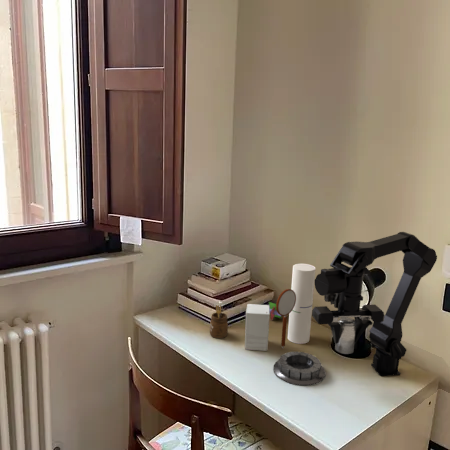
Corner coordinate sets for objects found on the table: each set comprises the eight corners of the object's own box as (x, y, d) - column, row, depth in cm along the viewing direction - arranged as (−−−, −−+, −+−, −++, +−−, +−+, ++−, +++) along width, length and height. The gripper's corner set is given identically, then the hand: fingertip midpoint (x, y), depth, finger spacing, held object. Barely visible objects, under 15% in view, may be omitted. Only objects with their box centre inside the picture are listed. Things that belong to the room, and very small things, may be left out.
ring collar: (315, 357, 159) (316, 348, 158) (332, 384, 144) (333, 374, 144) (267, 359, 156) (268, 350, 155) (281, 387, 142) (281, 377, 141)
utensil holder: (228, 331, 173) (229, 298, 170) (226, 340, 167) (227, 305, 164) (210, 329, 174) (212, 296, 171) (208, 338, 168) (209, 304, 165)
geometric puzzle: (276, 320, 178) (284, 298, 181) (259, 315, 182) (266, 294, 184) (283, 325, 184) (290, 305, 186) (266, 320, 188) (273, 300, 190)
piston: (349, 344, 145) (352, 316, 143) (356, 353, 140) (359, 324, 138) (332, 345, 144) (335, 317, 142) (339, 354, 139) (342, 325, 137)
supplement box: (267, 340, 168) (270, 304, 165) (267, 351, 161) (269, 314, 158) (245, 338, 169) (247, 303, 166) (243, 349, 162) (245, 312, 158)
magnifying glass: (275, 353, 160) (279, 293, 155) (271, 351, 161) (275, 291, 156) (293, 345, 166) (298, 287, 161) (289, 343, 167) (294, 285, 162)
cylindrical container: (310, 344, 167) (317, 271, 160) (288, 343, 167) (294, 270, 161) (307, 334, 174) (313, 264, 167) (286, 333, 174) (291, 263, 167)
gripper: (369, 278, 147) (364, 328, 151) (307, 279, 144) (303, 331, 148) (388, 293, 137) (381, 346, 140) (321, 295, 133) (316, 349, 137)
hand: (344, 342), depth 142 cm, fingers closed on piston, 5 cm apart
